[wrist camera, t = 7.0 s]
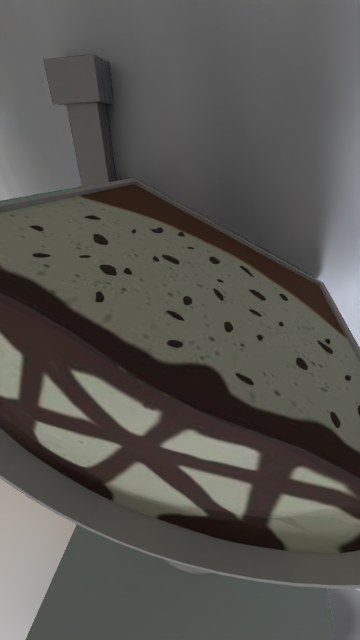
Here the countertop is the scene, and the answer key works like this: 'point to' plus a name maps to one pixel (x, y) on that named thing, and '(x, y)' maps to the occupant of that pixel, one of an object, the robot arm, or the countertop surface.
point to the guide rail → (85, 111)
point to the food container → (177, 387)
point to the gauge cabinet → (168, 600)
